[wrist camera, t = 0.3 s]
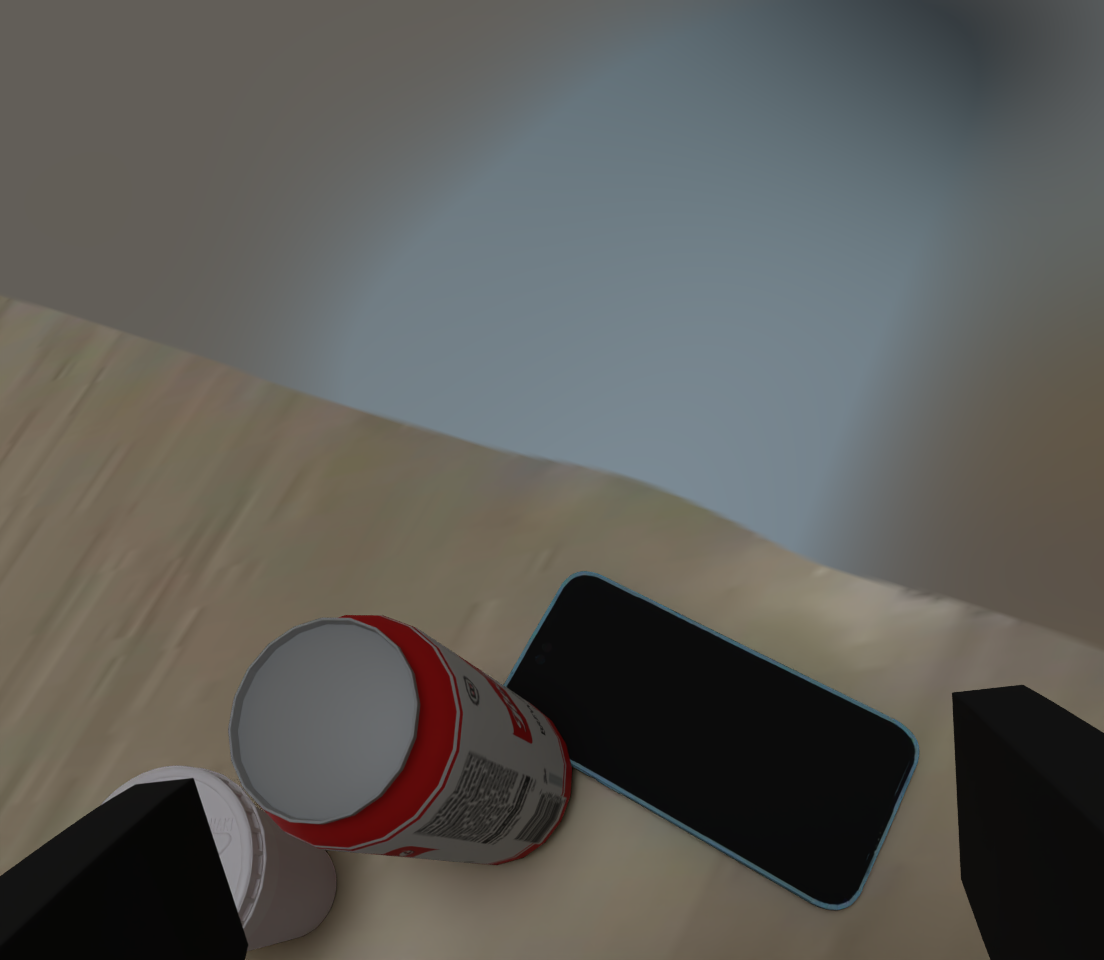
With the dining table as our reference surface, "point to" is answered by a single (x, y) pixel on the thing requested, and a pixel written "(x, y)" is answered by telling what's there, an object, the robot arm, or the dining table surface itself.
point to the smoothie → (258, 860)
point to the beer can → (394, 746)
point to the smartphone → (718, 737)
